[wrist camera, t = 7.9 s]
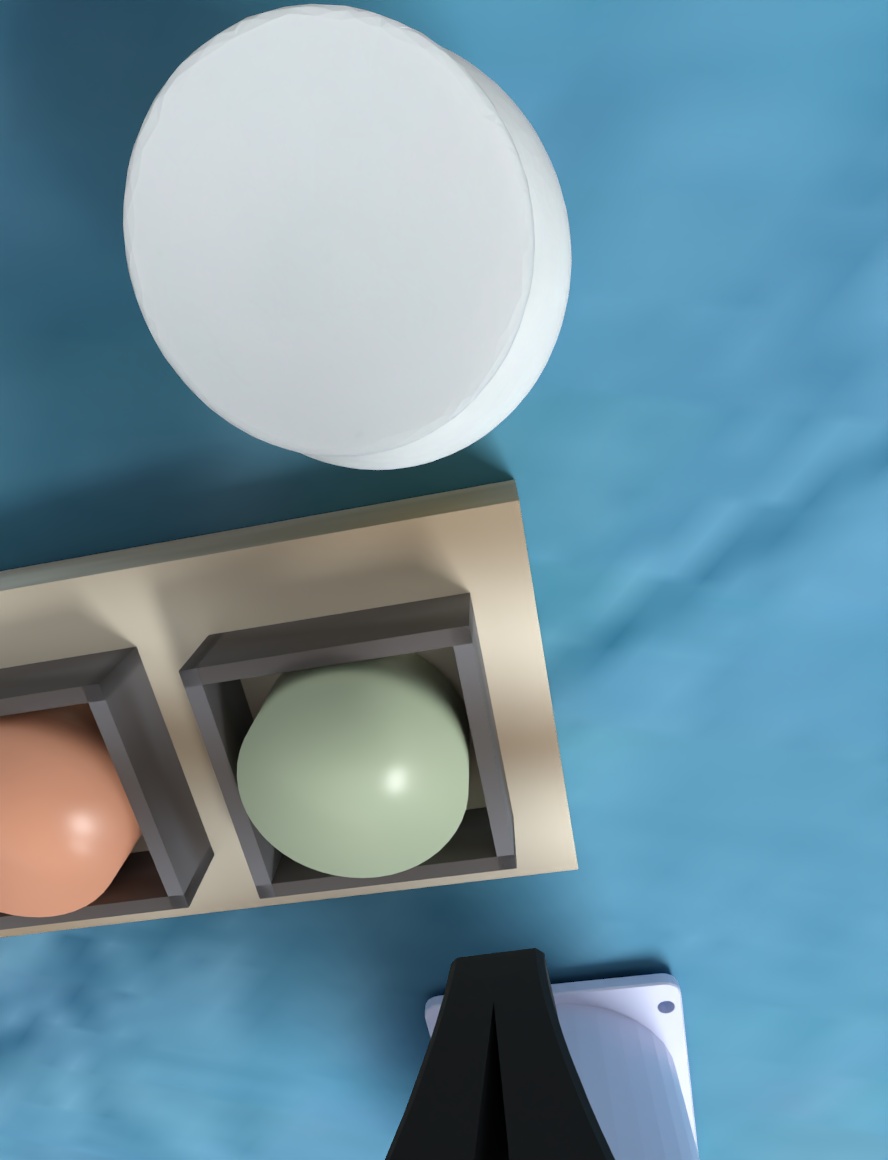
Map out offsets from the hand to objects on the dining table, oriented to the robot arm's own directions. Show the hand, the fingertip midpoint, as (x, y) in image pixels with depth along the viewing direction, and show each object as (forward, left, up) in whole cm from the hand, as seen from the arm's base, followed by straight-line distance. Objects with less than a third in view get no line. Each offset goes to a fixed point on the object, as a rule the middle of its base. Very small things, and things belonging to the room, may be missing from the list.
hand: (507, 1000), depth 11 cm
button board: (+1, +11, -9) cm, 14 cm away
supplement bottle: (+11, 0, -9) cm, 14 cm away
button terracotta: (+1, +11, -7) cm, 13 cm away
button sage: (+1, +3, -7) cm, 7 cm away
